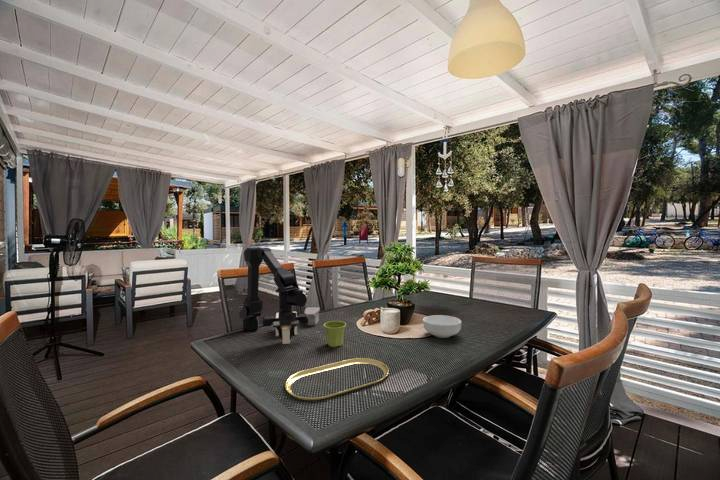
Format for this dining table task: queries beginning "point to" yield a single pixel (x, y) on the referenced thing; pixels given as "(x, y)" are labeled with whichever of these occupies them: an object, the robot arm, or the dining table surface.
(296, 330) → the white open box
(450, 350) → the dining table surface
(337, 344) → the plant pot
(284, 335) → the cream and brown mallet
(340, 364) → the serving platter
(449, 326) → the cereal bowl
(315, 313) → the decorative stone
